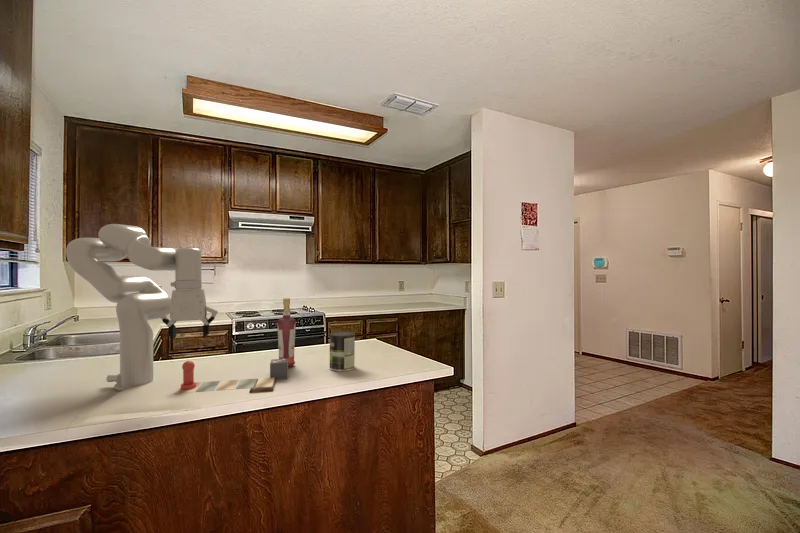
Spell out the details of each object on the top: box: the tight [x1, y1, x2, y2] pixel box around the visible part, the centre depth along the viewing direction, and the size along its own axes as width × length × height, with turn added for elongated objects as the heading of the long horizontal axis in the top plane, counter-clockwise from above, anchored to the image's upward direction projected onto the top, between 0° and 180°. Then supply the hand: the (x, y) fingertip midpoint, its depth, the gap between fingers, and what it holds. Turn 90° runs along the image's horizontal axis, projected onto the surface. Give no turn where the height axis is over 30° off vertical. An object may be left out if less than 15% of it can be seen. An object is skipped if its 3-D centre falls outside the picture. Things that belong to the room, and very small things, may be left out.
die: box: [269, 358, 289, 380], centre depth 143 cm, size 6×6×6 cm
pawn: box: [180, 360, 197, 390], centre depth 127 cm, size 4×4×9 cm
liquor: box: [277, 297, 297, 369], centre depth 158 cm, size 7×7×28 cm
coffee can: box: [328, 330, 356, 372], centre depth 156 cm, size 10×10×14 cm
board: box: [173, 377, 276, 395], centre depth 129 cm, size 30×12×1 cm, turn 104°
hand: (189, 337), depth 126 cm, fingers open, 9 cm apart
